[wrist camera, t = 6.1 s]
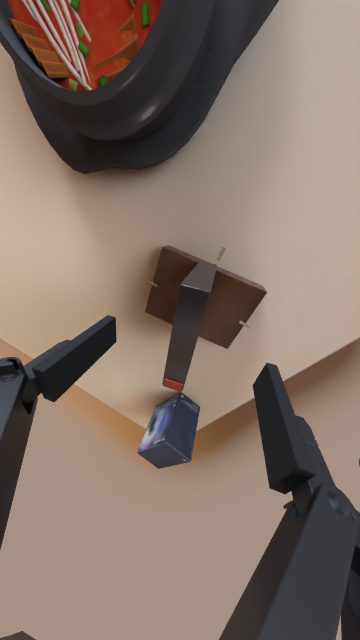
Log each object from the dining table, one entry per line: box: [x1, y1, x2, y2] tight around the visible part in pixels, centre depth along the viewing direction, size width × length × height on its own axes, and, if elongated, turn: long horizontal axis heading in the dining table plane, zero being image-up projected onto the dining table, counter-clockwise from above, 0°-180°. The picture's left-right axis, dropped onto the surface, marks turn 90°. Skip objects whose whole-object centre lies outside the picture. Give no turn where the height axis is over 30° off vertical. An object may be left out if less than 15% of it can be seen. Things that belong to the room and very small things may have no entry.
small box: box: [137, 392, 200, 468], centre depth 35 cm, size 11×6×10 cm, turn 140°
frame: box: [163, 261, 217, 392], centre depth 18 cm, size 11×2×10 cm, turn 170°
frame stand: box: [145, 246, 267, 349], centre depth 23 cm, size 15×15×3 cm
